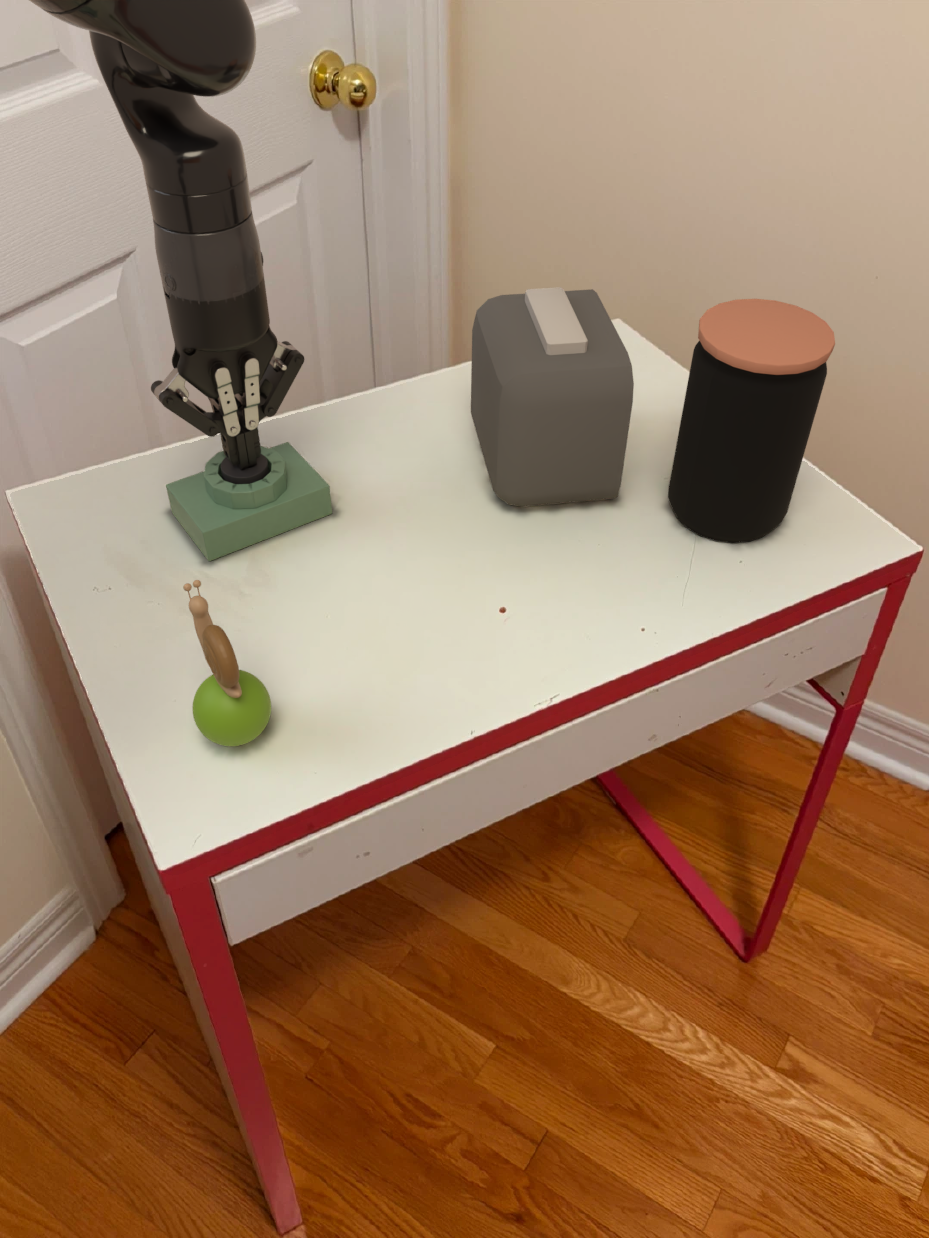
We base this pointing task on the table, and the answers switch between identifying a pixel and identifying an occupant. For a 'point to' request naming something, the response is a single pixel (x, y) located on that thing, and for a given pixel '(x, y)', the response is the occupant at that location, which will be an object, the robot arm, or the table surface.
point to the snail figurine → (225, 686)
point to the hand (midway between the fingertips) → (243, 463)
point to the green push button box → (248, 502)
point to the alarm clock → (550, 396)
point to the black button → (244, 471)
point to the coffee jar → (747, 417)
